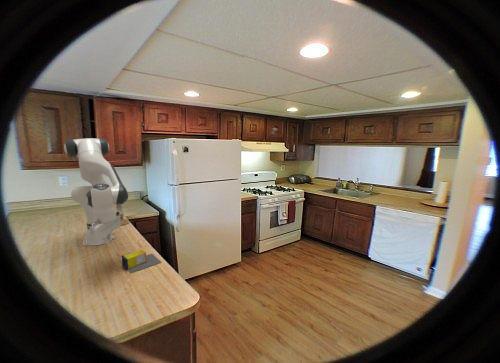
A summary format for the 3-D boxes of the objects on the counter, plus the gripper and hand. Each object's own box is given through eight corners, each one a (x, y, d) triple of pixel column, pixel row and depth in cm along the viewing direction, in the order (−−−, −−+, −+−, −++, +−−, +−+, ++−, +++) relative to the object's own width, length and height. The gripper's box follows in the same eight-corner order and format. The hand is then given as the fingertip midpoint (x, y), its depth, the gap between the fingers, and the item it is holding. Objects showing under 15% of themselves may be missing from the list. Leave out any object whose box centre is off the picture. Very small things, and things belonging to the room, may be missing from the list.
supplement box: (121, 265, 122) (142, 258, 131) (126, 269, 118) (146, 261, 127) (121, 255, 121) (141, 248, 130) (125, 259, 118) (146, 252, 126)
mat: (123, 263, 126) (123, 262, 126) (152, 253, 137) (152, 253, 137) (130, 273, 116) (130, 272, 116) (161, 262, 127) (161, 262, 127)
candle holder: (114, 222, 192) (112, 199, 189) (130, 220, 196) (128, 198, 193) (110, 227, 181) (107, 203, 178) (127, 225, 185) (125, 201, 181)
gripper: (97, 224, 101) (100, 252, 103) (121, 210, 121) (124, 234, 123) (83, 224, 100) (86, 252, 103) (109, 210, 121) (112, 234, 123)
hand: (107, 242), depth 113 cm, fingers closed
